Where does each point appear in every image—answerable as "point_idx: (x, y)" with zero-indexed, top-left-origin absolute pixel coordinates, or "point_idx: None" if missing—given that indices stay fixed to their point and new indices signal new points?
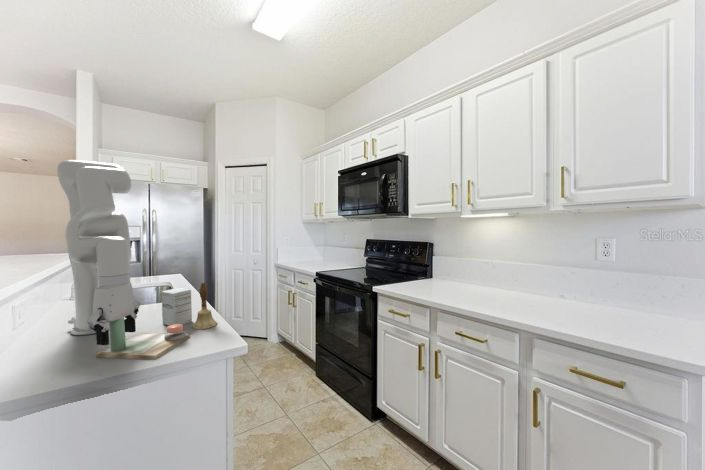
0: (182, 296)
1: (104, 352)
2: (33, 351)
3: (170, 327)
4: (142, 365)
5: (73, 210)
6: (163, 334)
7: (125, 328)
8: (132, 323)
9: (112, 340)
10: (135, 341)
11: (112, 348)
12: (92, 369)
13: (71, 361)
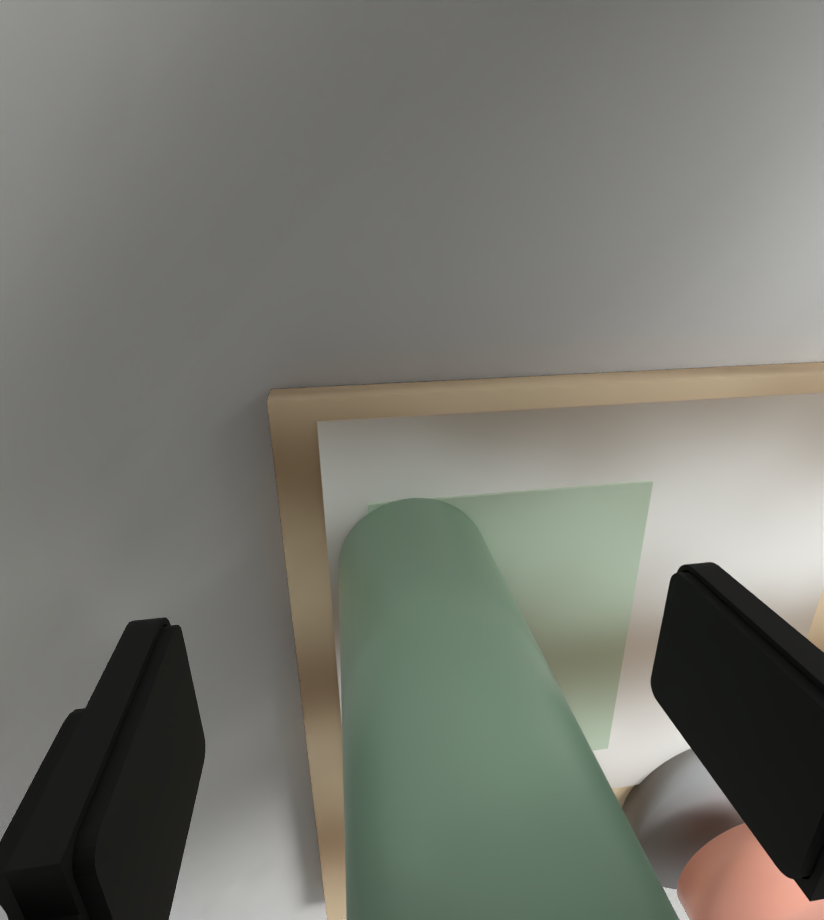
0: None
1: (318, 473)
2: None
3: (758, 907)
4: (211, 889)
5: None
6: None
7: (707, 623)
8: (748, 809)
9: (342, 669)
10: (621, 570)
11: (340, 584)
12: (19, 614)
13: (91, 152)
